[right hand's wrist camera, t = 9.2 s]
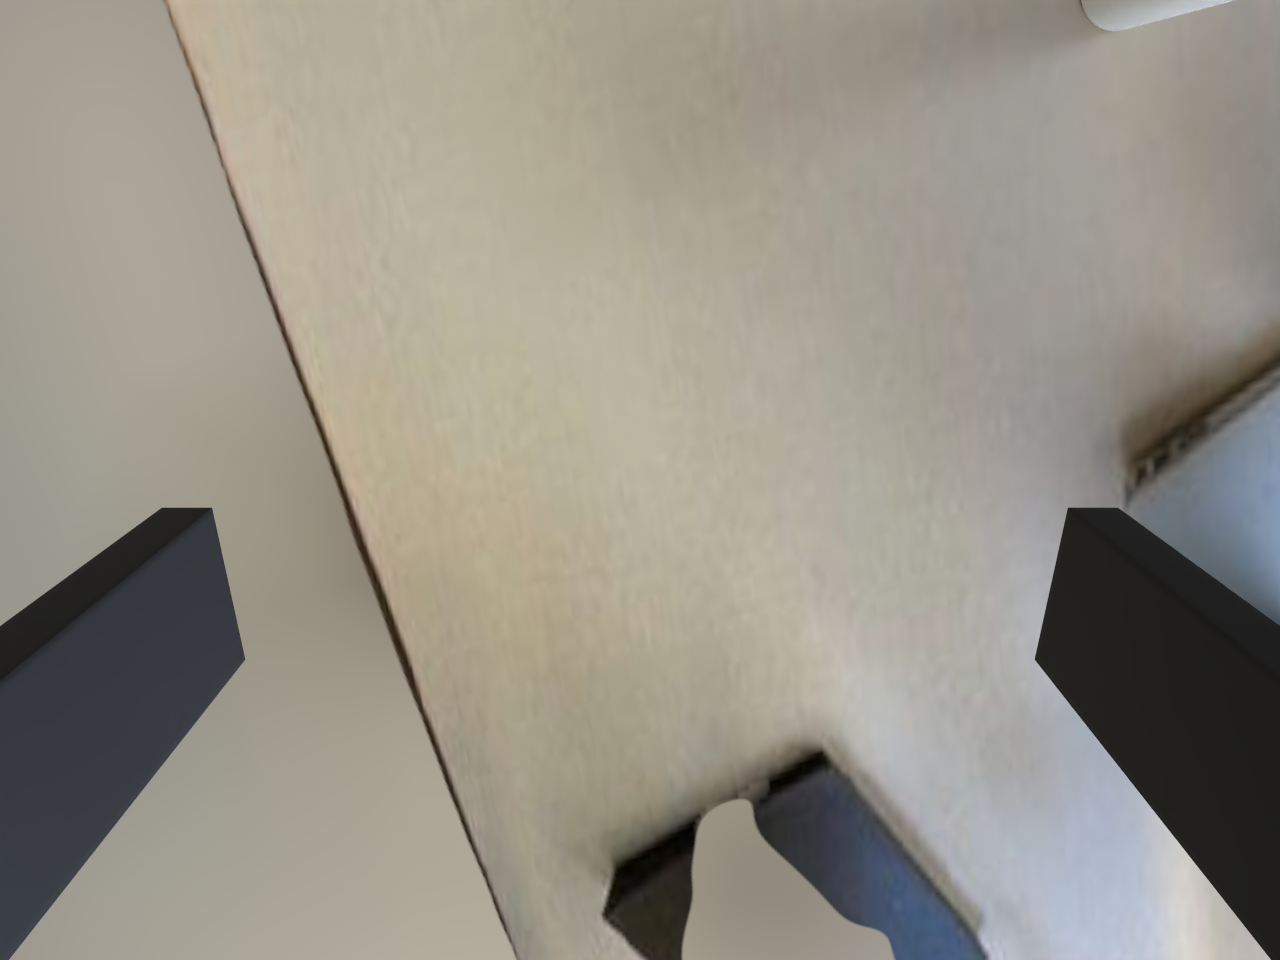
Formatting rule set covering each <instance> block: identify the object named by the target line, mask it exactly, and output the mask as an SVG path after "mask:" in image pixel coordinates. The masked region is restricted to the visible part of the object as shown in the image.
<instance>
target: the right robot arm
mask: <svg viewBox="0 0 1280 960" xmlns="http://www.w3.org/2000/svg"><path fill="white" fill-rule="evenodd" d="M244 660H245V656H244V652H243V647H242V643H241V638H240V633H239V629H238V625H237V620H236V615H235V611H234V606H233V602H232V597H231V593H230V588H229V583H228V579H227V574H226V570H225V565H224V561H223V556H222V552H221V547H220V542H219V538H218V533H217V529H216V524H215V520H214V515H213V510H212V508H161V509H160V510H158V511H157V512H156V513H154V514H153V515H151V516H150V517H149V518H147V519H146V520H145V521H143V522H142V523H141V524H139V525H138V526H136V527H135V528H134V529H132V530H131V531H130V532H128V533H127V534H126V535H124V536H123V537H121V538H120V539H119V540H117V541H116V542H115V543H113V544H112V545H111V546H109V547H108V548H106V549H105V550H104V551H102V552H101V553H100V554H98V555H97V556H96V557H94V558H93V559H91V560H90V561H89V562H87V563H86V564H85V565H83V566H82V567H81V568H79V569H78V570H76V571H75V572H74V573H72V574H71V575H69V576H68V577H67V578H65V579H64V580H63V581H61V582H60V583H59V584H57V585H56V586H54V587H53V588H52V589H50V590H49V591H48V592H46V593H45V594H44V595H42V596H41V597H39V598H38V599H37V600H35V601H34V602H33V603H31V604H30V605H28V606H27V607H26V608H24V609H23V610H22V611H20V612H19V613H18V614H16V615H15V616H13V617H12V618H11V619H9V620H8V621H7V622H5V623H4V624H3V625H1V626H0V960H9V959H10V958H11V956H12V955H13V954H14V953H15V951H16V950H17V949H18V947H19V946H20V945H21V944H22V942H23V941H24V940H25V939H26V937H27V936H28V935H29V933H30V932H31V931H32V930H33V928H34V927H35V926H36V925H37V923H38V922H39V921H40V919H41V918H42V917H43V916H44V914H45V913H46V912H47V911H48V909H49V908H50V907H51V906H52V904H53V903H54V902H55V900H56V899H57V898H58V897H59V895H60V894H61V893H62V892H63V890H64V889H65V888H66V886H67V885H68V884H69V883H70V881H71V880H72V879H73V878H74V876H75V875H76V874H77V872H78V871H79V870H80V869H81V867H82V866H83V865H84V864H85V862H86V861H87V860H88V858H89V857H90V856H91V855H92V853H93V852H94V851H95V850H96V848H97V847H98V846H99V845H100V843H101V842H102V841H103V839H104V838H105V837H106V836H107V834H108V833H109V832H110V831H111V829H112V828H113V827H114V825H115V824H116V823H117V822H118V820H119V819H120V818H121V817H122V815H123V814H124V813H125V811H126V810H127V809H128V808H129V806H130V805H131V804H132V803H133V801H134V800H135V799H136V798H137V796H138V795H139V794H140V792H141V791H142V790H143V789H144V787H145V786H146V785H147V784H148V782H149V781H150V780H151V778H152V777H153V776H154V775H155V773H156V772H157V771H158V770H159V768H160V767H161V766H162V765H163V763H164V762H165V761H166V759H167V758H168V757H169V756H170V754H171V753H172V752H173V751H174V749H175V748H176V747H177V745H178V744H179V743H180V742H181V740H182V739H183V738H184V737H185V735H186V734H187V733H188V732H189V730H190V729H191V728H192V726H193V725H194V724H195V722H196V721H197V720H198V719H199V717H200V716H201V715H202V714H203V712H204V711H205V710H206V709H207V707H208V706H209V705H210V704H211V702H212V701H213V700H214V698H215V697H216V696H217V695H218V693H219V692H220V691H221V690H222V688H223V687H224V686H225V685H226V683H227V682H228V681H229V679H230V678H231V677H232V676H233V674H234V673H235V672H236V671H237V669H238V668H239V667H240V665H241V664H242V663H243V662H244ZM1035 660H1036V662H1037V663H1038V664H1039V665H1040V667H1041V668H1042V669H1043V671H1044V672H1045V673H1046V674H1047V676H1048V677H1049V678H1050V679H1051V681H1052V682H1053V683H1054V685H1055V686H1056V687H1057V688H1058V690H1059V691H1060V692H1061V693H1062V695H1063V696H1064V697H1065V698H1066V700H1067V701H1068V702H1069V704H1070V705H1071V706H1072V707H1073V709H1074V710H1075V711H1076V712H1077V714H1078V715H1079V716H1080V718H1081V719H1082V720H1083V721H1084V723H1085V724H1086V725H1087V726H1088V728H1089V729H1090V730H1091V732H1092V733H1093V734H1094V735H1095V737H1096V738H1097V739H1098V740H1099V742H1100V743H1101V744H1102V745H1103V747H1104V748H1105V749H1106V751H1107V752H1108V753H1109V754H1110V756H1111V757H1112V758H1113V759H1114V761H1115V762H1116V763H1117V765H1118V766H1119V767H1120V768H1121V770H1122V771H1123V772H1124V773H1125V775H1126V776H1127V777H1128V779H1129V780H1130V781H1131V782H1132V784H1133V785H1134V786H1135V787H1136V789H1137V790H1138V791H1139V792H1140V794H1141V795H1142V796H1143V798H1144V799H1145V800H1146V801H1147V803H1148V804H1149V805H1150V806H1151V808H1152V809H1153V810H1154V812H1155V813H1156V814H1157V815H1158V817H1159V818H1160V819H1161V820H1162V822H1163V823H1164V824H1165V825H1166V827H1167V828H1168V829H1169V831H1170V832H1171V833H1172V834H1173V836H1174V837H1175V838H1176V839H1177V841H1178V842H1179V843H1180V845H1181V846H1182V847H1183V848H1184V850H1185V851H1186V852H1187V853H1188V855H1189V856H1190V857H1191V859H1192V860H1193V861H1194V862H1195V864H1196V865H1197V866H1198V867H1199V869H1200V870H1201V871H1202V872H1203V874H1204V875H1205V876H1206V878H1207V879H1208V880H1209V881H1210V883H1211V884H1212V885H1213V886H1214V888H1215V889H1216V890H1217V892H1218V893H1219V894H1220V895H1221V897H1222V898H1223V899H1224V900H1225V902H1226V903H1227V904H1228V906H1229V907H1230V908H1231V909H1232V911H1233V912H1234V913H1235V914H1236V916H1237V917H1238V918H1239V919H1240V921H1241V922H1242V923H1243V925H1244V926H1245V927H1246V928H1247V930H1248V931H1249V932H1250V933H1251V935H1252V936H1253V937H1254V939H1255V940H1256V941H1257V942H1258V944H1259V945H1260V946H1261V947H1262V949H1263V950H1264V951H1265V953H1266V954H1267V955H1268V956H1269V958H1270V959H1271V960H1280V626H1279V625H1277V624H1276V623H1275V622H1273V621H1272V620H1271V619H1269V618H1268V617H1267V616H1265V615H1264V614H1262V613H1261V612H1260V611H1258V610H1257V609H1256V608H1254V607H1253V606H1252V605H1250V604H1249V603H1247V602H1246V601H1245V600H1243V599H1242V598H1241V597H1239V596H1238V595H1236V594H1235V593H1234V592H1232V591H1231V590H1230V589H1228V588H1227V587H1226V586H1224V585H1223V584H1221V583H1220V582H1219V581H1217V580H1216V579H1215V578H1213V577H1212V576H1211V575H1209V574H1208V573H1206V572H1205V571H1204V570H1202V569H1201V568H1200V567H1198V566H1197V565H1195V564H1194V563H1193V562H1191V561H1190V560H1189V559H1187V558H1186V557H1185V556H1183V555H1182V554H1180V553H1179V552H1178V551H1176V550H1175V549H1174V548H1172V547H1171V546H1170V545H1168V544H1167V543H1165V542H1164V541H1163V540H1161V539H1160V538H1159V537H1157V536H1156V535H1154V534H1153V533H1152V532H1150V531H1149V530H1148V529H1146V528H1145V527H1144V526H1142V525H1141V524H1139V523H1138V522H1137V521H1135V520H1134V519H1133V518H1131V517H1130V516H1129V515H1127V514H1126V513H1124V512H1123V511H1122V510H1120V509H1119V508H1068V510H1067V515H1066V520H1065V524H1064V529H1063V533H1062V538H1061V542H1060V547H1059V551H1058V556H1057V561H1056V565H1055V570H1054V574H1053V579H1052V583H1051V588H1050V592H1049V597H1048V602H1047V606H1046V611H1045V615H1044V620H1043V624H1042V629H1041V633H1040V638H1039V643H1038V647H1037V652H1036V656H1035Z"/></svg>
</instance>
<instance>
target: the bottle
mask: <svg viewBox="0 0 1280 960" xmlns="http://www.w3.org/2000/svg"><path fill="white" fill-rule="evenodd" d="M1231 1H1234V0H1081V2H1082V7H1083V10H1084V12H1085V14H1086V16H1087V17H1088V19H1089V20H1090V21H1091V22H1092V23H1093V24H1094V25H1096V26H1097V27H1099V28H1101V29H1104V30H1107V31H1121V30H1126V29H1129V28H1133V27H1137V26H1141V25H1144V24H1148V23H1152V22H1156V21H1159V20H1163V19H1167V18H1171V17H1174V16H1178V15H1182V14H1186V13H1189V12H1193V11H1197V10H1201V9H1204V8H1208V7H1212V6H1216V5H1219V4H1223V3H1227V2H1231Z"/></svg>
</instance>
